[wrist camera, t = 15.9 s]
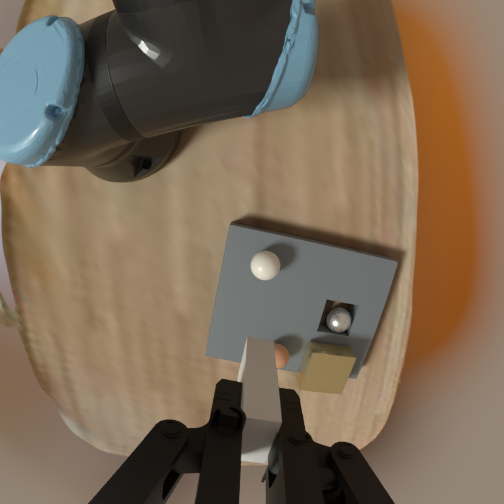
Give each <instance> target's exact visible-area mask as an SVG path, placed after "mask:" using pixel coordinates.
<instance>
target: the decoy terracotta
mask: <svg viewBox="0 0 504 504" xmlns="http://www.w3.org/2000/svg"><path fill="white" fill-rule="evenodd" d="M274 347H275V357H276V367H277V369H280V368H283V367H284V366H285V365H286V364H287V363H288V361H289V351H288V349H287V348H286V347H285V346H284V345H282V344H278V343H275V344H274Z"/></svg>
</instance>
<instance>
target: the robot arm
mask: <svg viewBox="0 0 504 504" xmlns="http://www.w3.org/2000/svg"><path fill="white" fill-rule="evenodd" d="M112 1H113V3H114V6H115V8H116V9H115V10H113V11H110V12H108V13H105V14H103V15H100V16H98V17H95V18H93V19H91V20H89V21H86V22H84V23H82V24H79V25H78V24H77V23H76V22H75V21H74V20H72V19H71V18H68V17H58V16H46V17H42V18H40V19H37V20H35V21H33V22H32V23H30V24H28V25H27V26H26V27H24V28H23V29H22V30H21V31H20V32H19V33H17V34H16V35H15V36H14V38H13V39H12V40H11V41H10V42H9V44H8V45H7V46H6V47H5V49H4V50H3V52H2V54H1V55H0V159H2V160H3V161H5V162H8V163H12V164H19V165H23V166H26V167H29V168H31V167H38V166H79V167H85V168H86V169H87V170H88V171H90V172H91V173H92V174H93V175H95V176H97V177H99V178H101V179H103V180H106V181H110V182H133V181H138V180H141V179H144V178H146V177H148V176H150V175H152V174H153V173H155V172H156V171H157V170H159V169H160V168H161V167H162V166H163V165H164V164H165V163H166V162H167V161H168V160H169V159H170V157H171V156H172V154H173V153H174V151H175V149H176V147H177V145H178V143H179V140H180V137H181V134H182V129H185V128H189V127H193V126H197V125H202V124H207V123H211V122H216V121H221V120H226V119H231V118H236V117H242V116H243V117H244V118H252V117H253V116H257V115H258V114H259V113H264V112H269V111H274V110H280V109H285V108H288V107H291V106H292V105H294V104H295V103H297V102H298V101H299V100H301V99H302V98H303V96H304V95H305V93H306V92H307V90H308V88H309V86H310V84H311V81H312V78H313V75H314V71H315V66H316V60H317V52H318V37H319V29H318V18H317V17H316V16H315V15H314V12H315V0H112ZM300 404H301V403H300V398H299V396H298V394H297V393H296V392H295V390H293V389H285V388H279V386H278V376H277V367H276V357H275V347H274V341H269V340H263V339H257V338H252V337H247V340H246V344H245V348H244V352H243V357H242V361H241V365H240V369H239V373H238V381H231V380H226V379H221V380H220V381H219V382H218V383H217V384H216V388H215V393H214V398H213V403H212V409H211V414H210V419H209V422H208V423H207V424H206V425H204V426H202V427H199V428H187V427H186V426H185V425H184V424H183V423H181V422H179V421H176V420H163V421H160V422H158V423H157V424H156V425H155V426H154V427H153V429H152V430H151V431H150V432H149V433H148V435H147V436H146V437H145V438H144V439H143V441H142V442H141V443H140V444H139V445H138V447H137V448H136V449H135V450H134V451H133V452H132V454H131V455H130V456H129V457H128V458H127V460H126V461H125V462H124V463H123V464H122V466H121V467H120V468H119V469H118V470H117V471H116V473H115V474H114V475H113V476H112V477H111V478H110V479H109V481H108V482H107V483H106V484H105V485H104V486H103V487H102V488H101V490H100V491H99V492H98V493H97V495H95V496H94V498H93V499H92V500H91V501H90V502H89V503H88V504H165V503H166V501H167V500H168V498H169V497H170V495H171V493H172V492H173V490H174V488H175V487H176V485H177V484H178V482H179V480H180V479H181V477H182V476H183V474H184V473H200V474H199V480H198V485H197V492H196V498H195V503H194V504H239V491H240V471H241V470H240V469H241V461H248V462H256V463H266V461H267V458H268V467H267V469H266V471H265V474H264V476H263V478H262V481H261V482H264V480H265V479H266V504H394V502H393V500H392V499H391V497H390V496H389V495H388V493H387V491H386V490H385V489H384V487H383V485H382V484H381V482H380V481H379V479H378V478H377V476H376V475H375V473H374V472H373V471H372V469H371V468H370V466H369V465H368V463H367V461H366V460H365V459H364V457H363V455H362V454H361V453H360V451H359V449H358V448H357V447H356V446H354V445H353V444H351V443H348V442H337V443H334V444H333V445H332V446H331V447H328V446H325V445H321V444H319V443H316V442H314V441H313V439H312V437H311V435H310V434H309V433H308V432H306V431H305V425H304V420H303V414H302V411H301V410H302V409H301V405H300Z"/></svg>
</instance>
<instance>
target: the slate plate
mask: <svg viewBox="0 0 504 504" xmlns="http://www.w3.org/2000/svg"><path fill="white" fill-rule="evenodd" d="M261 251H271V252H273V253H274V254H276V255H277V257H278V258H279V261H280V270H279V273H278V274H277V275H276V276H275V277H274V278H273V279H270V280H261V279H258V278H257V277H256V276H255V275H254V274H253V273H252V270H251V261H252V258H253V257H254V255H256V254H257V253H258V252H261ZM397 265H398V262H397V261H396V260H394V259H393V258H391V257H387V256H382V255H378V254H374V253H370V252H365V251H361V250H357V249H352V248H348V247H344V246H339V245H335V244H330V243H326V242H321V241H317V240H313V239H308V238H303V237H299V236H294V235H290V234H285V233H280V232H276V231H271V230H266V229H262V228H257V227H252V226H247V225H243V224H238V223H233V222H231V224H230V226H229V231H228V236H227V241H226V246H225V251H224V256H223V262H222V267H221V272H220V277H219V283H218V288H217V293H216V299H215V304H214V310H213V315H212V321H211V326H210V332H209V338H208V343H207V349H206V355H205V356H210V357H215V358H219V359H224V360H229V361H234V362H240V363H241V361H242V357H243V352H244V348H245V344H246V340H247V337H252V338H257V339H263V340H269V341H274V344H275V343H278V344H282V345H284V346H285V347H286V348H287V349H288V351H289V361H288V363H287V364H286V365H285V366H284V367H283V368H280V369H281V370H287V371H294V372H299V370H300V367H301V364H302V362H303V359H304V356H305V352H306V349H307V346H308V343H309V341H313V342H319V343H326V344H333V345H340V346H348V347H351V349H352V351H353V352H354V354H355V356H356V360H355V363H354V365H353V368H352V370H351V373H350V375H349V377H348V378H355V379H356V378H357V376H358V374H359V371H360V369H361V366H362V364H363V362H364V359H365V357H366V354H367V352H368V349H369V347H370V344H371V342H372V339H373V336H374V334H375V331H376V328H377V326H378V323H379V320H380V317H381V314H382V312H383V309H384V306H385V303H386V300H387V297H388V294H389V291H390V288H391V284H392V281H393V278H394V275H395V271H396V268H397ZM326 300H332V301H337V302H343V303H348V304H352V306H351V309H350V312H349V313H350V315H351V319H352V320H351V325H350V327H349V328H348V329H347V330H346V331H344V332H340V333H337V332H334V331H332V330H331V329H329V327H328V326H326V325H320V324H319V323H320V320H321V317H322V313H323V310H324V307H325V304H326Z"/></svg>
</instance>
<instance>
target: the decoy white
mask: <svg viewBox="0 0 504 504" xmlns="http://www.w3.org/2000/svg"><path fill="white" fill-rule="evenodd" d="M251 270H252V273H253V274H254V275H255V276H256V277H257V278H258V279H261V280H270V279H273V278H274V277H275V276H276V275H277V274H278V273H279V270H280V261H279V258H278V257H277V255H276V254H274V253H273V252H271V251H261V252H258V253H257V254H256V255H254V257H253V258H252V261H251Z"/></svg>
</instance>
